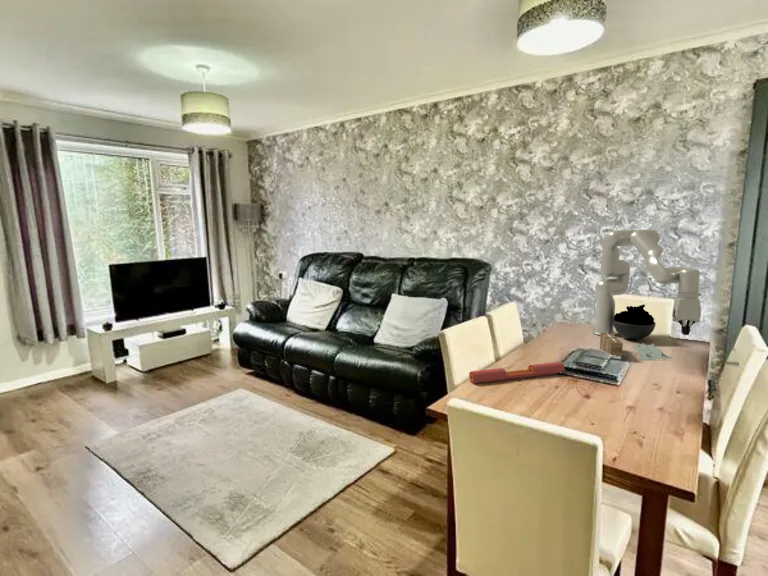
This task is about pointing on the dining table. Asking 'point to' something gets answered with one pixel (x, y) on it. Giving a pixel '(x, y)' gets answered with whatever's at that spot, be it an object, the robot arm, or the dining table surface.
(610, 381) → the dining table surface
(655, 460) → the dining table surface
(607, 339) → the block
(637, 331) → the bowl of black rocks
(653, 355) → the metal bracket
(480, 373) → the blood vessel
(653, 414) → the dining table surface
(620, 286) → the robot arm
